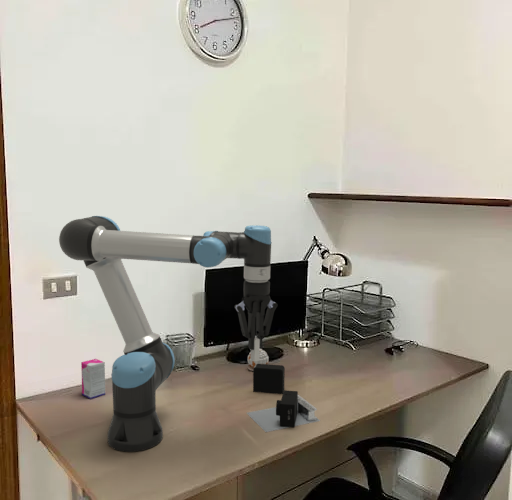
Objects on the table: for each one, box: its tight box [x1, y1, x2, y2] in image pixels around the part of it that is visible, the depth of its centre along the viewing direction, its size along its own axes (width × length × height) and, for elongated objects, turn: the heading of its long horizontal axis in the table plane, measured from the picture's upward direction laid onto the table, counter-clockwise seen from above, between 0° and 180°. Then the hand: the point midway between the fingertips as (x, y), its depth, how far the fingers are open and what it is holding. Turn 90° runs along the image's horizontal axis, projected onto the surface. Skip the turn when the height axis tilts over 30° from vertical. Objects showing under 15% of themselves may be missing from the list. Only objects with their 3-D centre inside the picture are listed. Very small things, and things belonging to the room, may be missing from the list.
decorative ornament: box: [246, 349, 270, 372], centre depth 211 cm, size 8×8×15 cm
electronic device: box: [252, 363, 286, 395], centre depth 187 cm, size 4×10×10 cm, turn 78°
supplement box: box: [80, 358, 106, 400], centre depth 186 cm, size 6×6×12 cm
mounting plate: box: [246, 406, 321, 433], centre depth 167 cm, size 18×14×2 cm
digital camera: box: [275, 389, 299, 428], centre depth 165 cm, size 10×5×7 cm, turn 171°
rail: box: [297, 394, 318, 421], centre depth 170 cm, size 3×12×4 cm, turn 25°
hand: (254, 359), depth 161 cm, fingers closed
